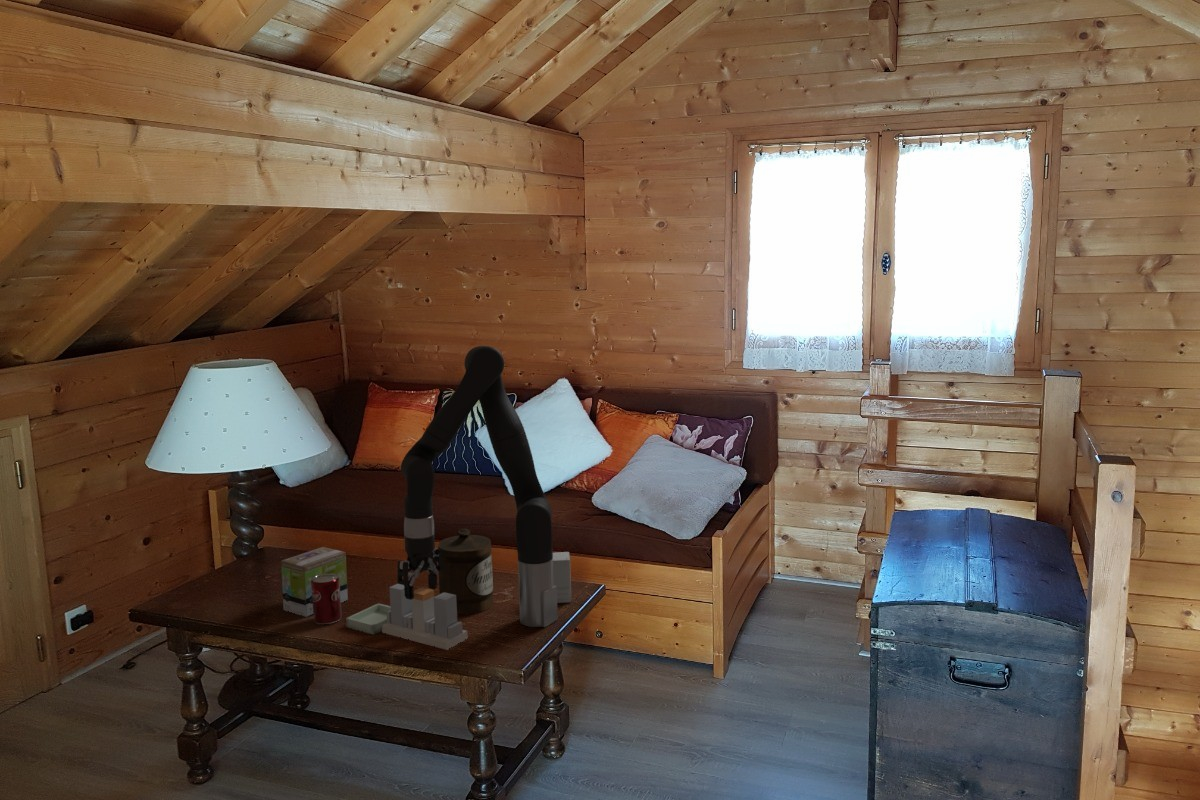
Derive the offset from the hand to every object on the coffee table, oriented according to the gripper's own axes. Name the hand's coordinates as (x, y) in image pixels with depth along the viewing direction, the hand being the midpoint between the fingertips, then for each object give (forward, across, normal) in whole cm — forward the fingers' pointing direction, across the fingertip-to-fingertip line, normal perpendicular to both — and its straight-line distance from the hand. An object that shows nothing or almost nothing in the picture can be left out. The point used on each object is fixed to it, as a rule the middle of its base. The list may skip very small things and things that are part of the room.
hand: (421, 593), depth 239 cm
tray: (+12, 0, +16) cm, 20 cm away
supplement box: (+11, +38, -16) cm, 43 cm away
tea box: (+12, +1, +40) cm, 42 cm away
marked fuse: (+9, 0, 0) cm, 9 cm away
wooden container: (+11, +22, +4) cm, 25 cm away
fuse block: (+11, 0, -1) cm, 11 cm away
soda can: (+12, -5, +29) cm, 32 cm away
